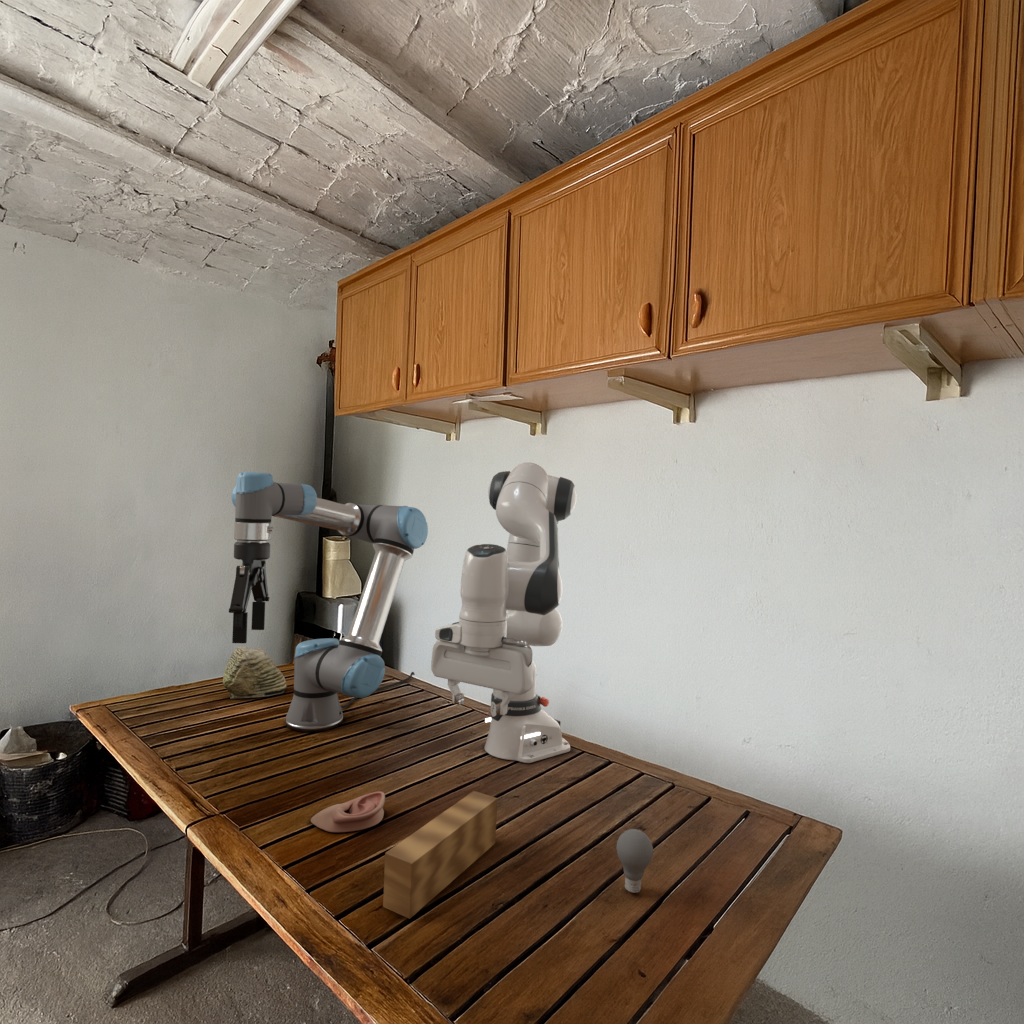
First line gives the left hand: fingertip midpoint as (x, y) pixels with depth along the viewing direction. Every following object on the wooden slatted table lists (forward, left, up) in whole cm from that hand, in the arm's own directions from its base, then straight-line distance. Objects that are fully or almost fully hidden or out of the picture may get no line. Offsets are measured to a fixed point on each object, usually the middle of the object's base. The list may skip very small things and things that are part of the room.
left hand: (249, 636), depth 142 cm
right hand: (-13, +58, -6) cm, 59 cm away
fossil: (-31, -51, -31) cm, 67 cm away
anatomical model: (-4, +33, -31) cm, 46 cm away
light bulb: (-22, +86, -31) cm, 94 cm away
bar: (-4, +59, -31) cm, 67 cm away
